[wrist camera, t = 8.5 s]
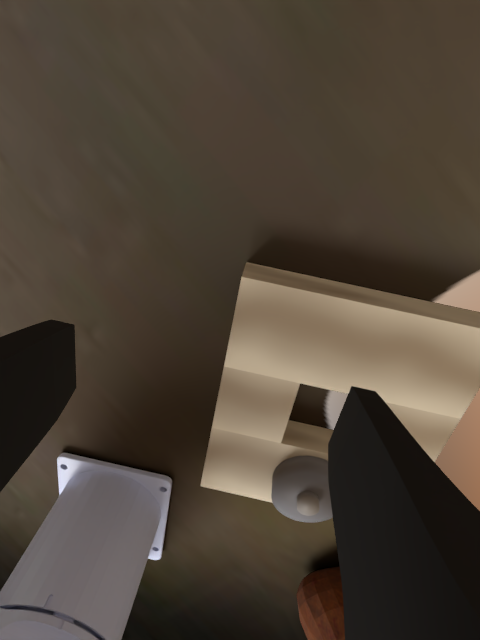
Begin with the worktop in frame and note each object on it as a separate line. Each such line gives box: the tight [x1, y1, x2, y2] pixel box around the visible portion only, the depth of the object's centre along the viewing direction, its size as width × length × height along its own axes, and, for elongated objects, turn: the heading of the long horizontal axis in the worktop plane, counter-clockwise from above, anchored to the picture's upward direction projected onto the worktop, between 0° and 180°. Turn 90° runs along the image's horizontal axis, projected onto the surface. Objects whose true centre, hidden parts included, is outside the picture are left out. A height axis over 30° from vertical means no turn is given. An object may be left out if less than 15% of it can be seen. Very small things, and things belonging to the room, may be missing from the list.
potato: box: [297, 567, 345, 640], centre depth 25 cm, size 8×12×8 cm, turn 97°
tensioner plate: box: [200, 262, 480, 522], centre depth 20 cm, size 14×12×4 cm
